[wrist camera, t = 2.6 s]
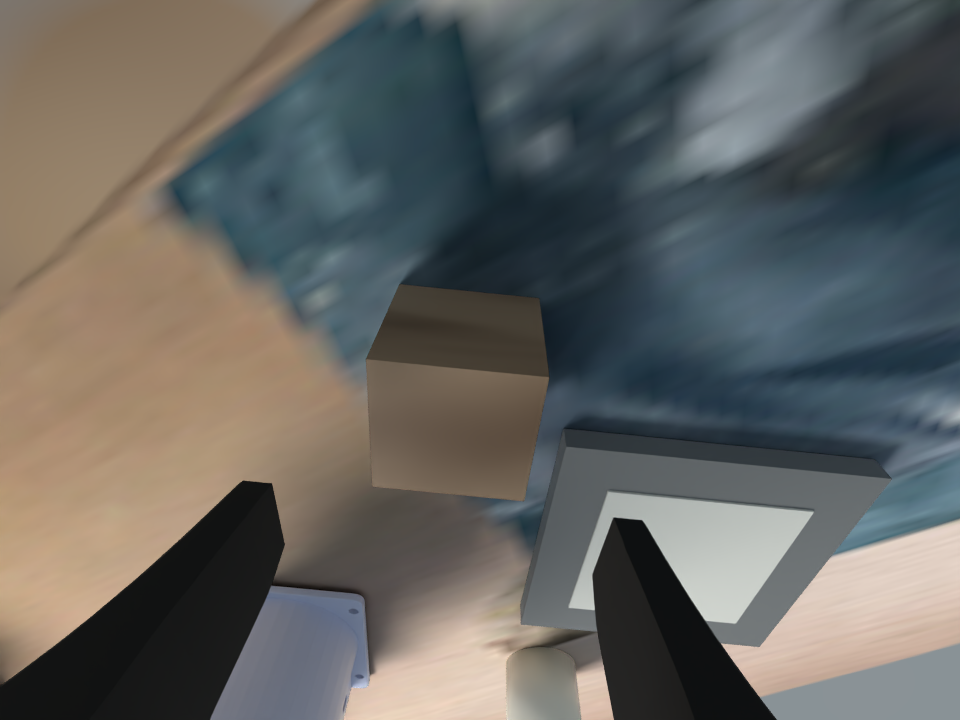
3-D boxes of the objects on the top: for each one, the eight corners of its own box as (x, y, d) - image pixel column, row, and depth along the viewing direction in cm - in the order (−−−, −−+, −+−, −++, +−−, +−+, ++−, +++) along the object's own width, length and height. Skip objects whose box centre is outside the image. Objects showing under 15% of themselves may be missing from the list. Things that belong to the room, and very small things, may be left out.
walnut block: (520, 406, 18) (523, 501, 14) (400, 394, 18) (372, 486, 14) (538, 297, 16) (549, 377, 12) (400, 283, 16) (366, 359, 12)
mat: (750, 626, 25) (760, 649, 24) (520, 605, 25) (521, 626, 24) (874, 459, 19) (894, 481, 18) (563, 428, 18) (566, 448, 18)
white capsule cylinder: (567, 683, 29) (575, 765, 26) (502, 677, 29) (502, 759, 26) (581, 650, 27) (592, 734, 24) (510, 643, 27) (511, 727, 24)
